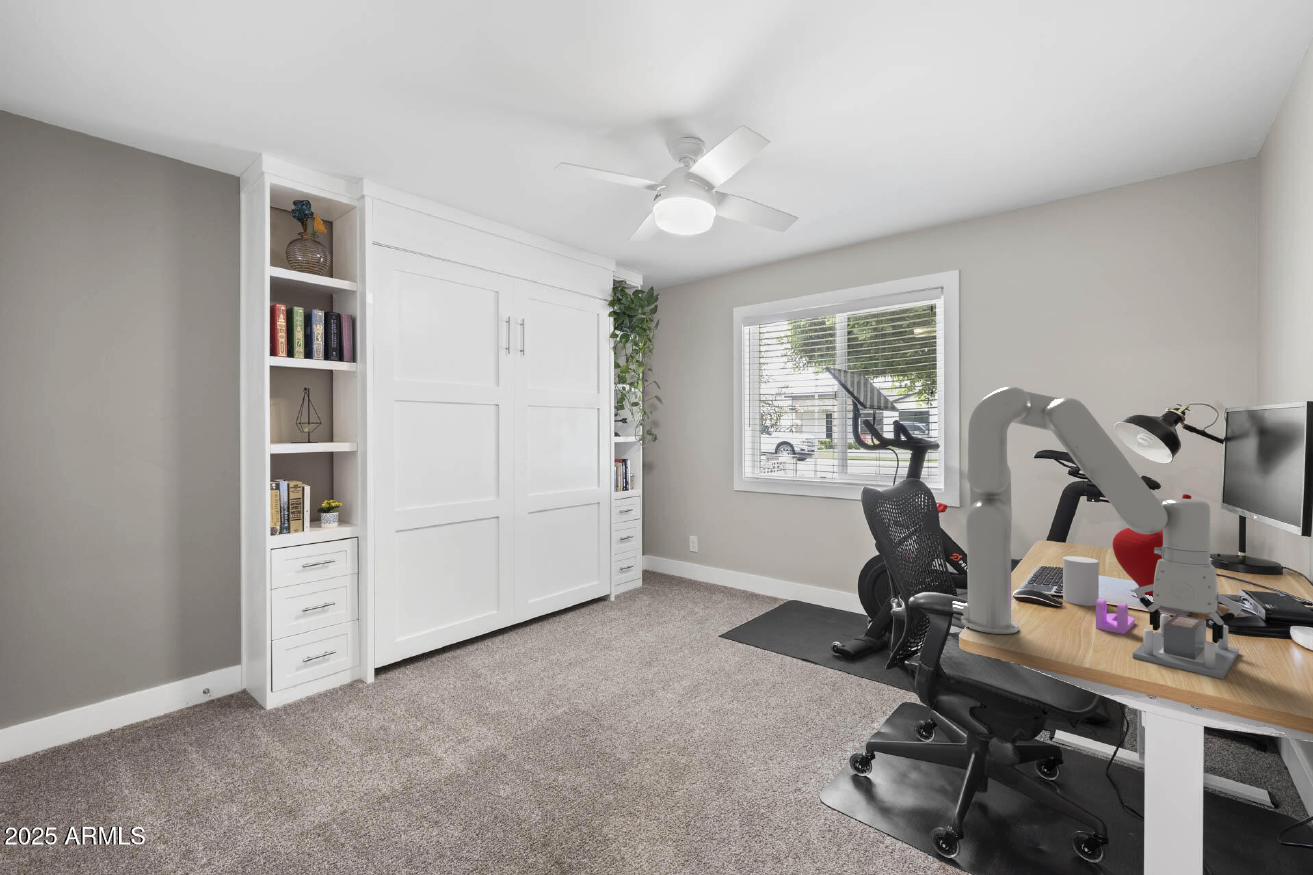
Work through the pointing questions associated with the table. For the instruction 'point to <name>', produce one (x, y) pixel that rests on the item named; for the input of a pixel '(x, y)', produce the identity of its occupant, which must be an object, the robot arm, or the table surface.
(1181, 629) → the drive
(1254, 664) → the table surface
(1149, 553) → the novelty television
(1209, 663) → the grey fixture base
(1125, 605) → the bracket
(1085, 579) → the light grey cylinder
